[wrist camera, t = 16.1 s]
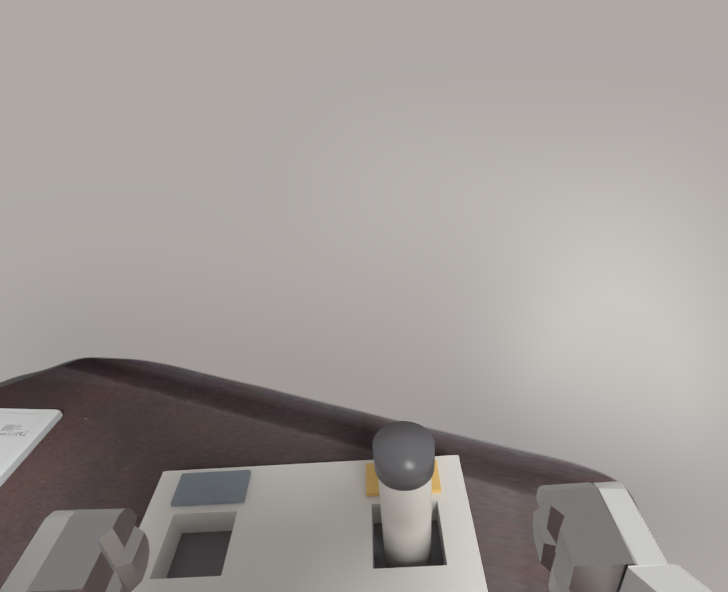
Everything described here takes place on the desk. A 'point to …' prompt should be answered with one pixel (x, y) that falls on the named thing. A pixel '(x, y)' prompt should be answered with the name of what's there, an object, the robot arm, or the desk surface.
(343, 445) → the desk surface
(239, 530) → the socket board
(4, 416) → the external hard drive
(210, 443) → the desk surface
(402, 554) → the grey capped white cylinder
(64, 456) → the desk surface
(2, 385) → the desk surface
